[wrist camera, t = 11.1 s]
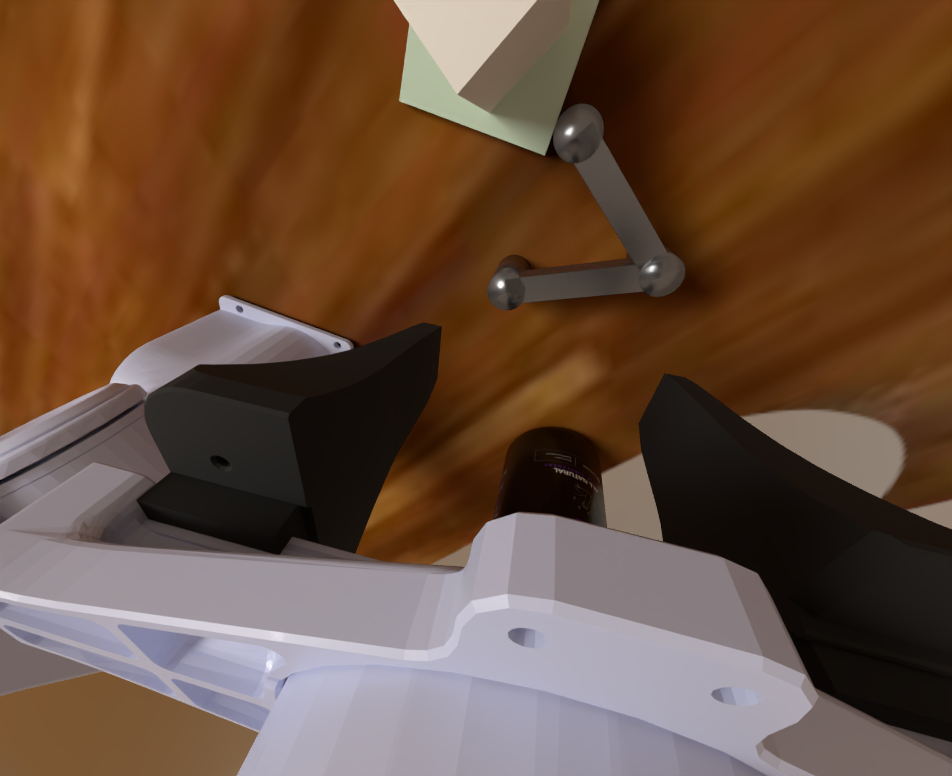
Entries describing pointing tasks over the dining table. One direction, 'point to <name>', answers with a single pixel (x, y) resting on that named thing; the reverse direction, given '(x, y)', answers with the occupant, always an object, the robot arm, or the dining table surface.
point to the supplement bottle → (552, 477)
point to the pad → (524, 107)
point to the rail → (646, 257)
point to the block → (486, 40)
